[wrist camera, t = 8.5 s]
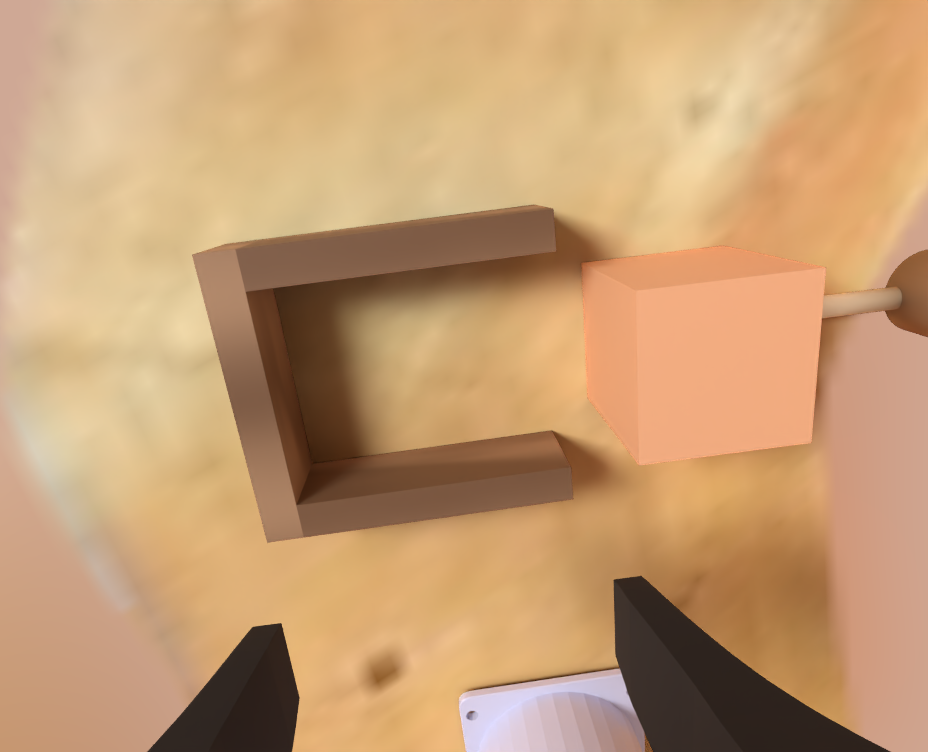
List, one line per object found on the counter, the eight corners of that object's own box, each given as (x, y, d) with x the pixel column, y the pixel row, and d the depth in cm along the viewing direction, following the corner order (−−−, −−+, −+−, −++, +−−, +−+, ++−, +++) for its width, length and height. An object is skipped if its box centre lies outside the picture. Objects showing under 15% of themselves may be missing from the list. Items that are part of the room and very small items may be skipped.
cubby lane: (553, 459, 23) (573, 498, 20) (286, 496, 22) (267, 542, 20) (534, 204, 20) (553, 208, 17) (225, 244, 19) (192, 254, 17)
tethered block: (953, 351, 22) (1134, 409, 17) (587, 398, 22) (645, 473, 16) (975, 215, 21) (1182, 228, 15) (581, 262, 20) (642, 294, 15)
